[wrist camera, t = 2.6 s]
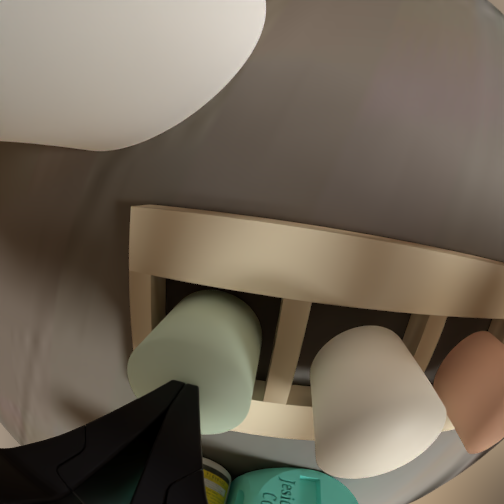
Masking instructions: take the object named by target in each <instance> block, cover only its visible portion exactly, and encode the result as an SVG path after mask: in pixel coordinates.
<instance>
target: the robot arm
mask: <svg viewBox="0 0 504 504" xmlns="http://www.w3.org/2000/svg"><path fill="white" fill-rule="evenodd" d="M0 504H208V500H207V495H206V489H205V482H204V471H203V459H202V444H201V425H200V401H199V387H198V386H197V385H192V384H189V383H187V384H185V383H184V382H181V381H177V380H171V381H169V382H167V383H165V384H164V385H162V386H160V387H158V388H156V389H155V390H153V391H151V392H149V393H147V394H145V395H144V396H142V397H140V398H138V399H136V400H134V401H132V402H130V403H128V404H126V405H124V406H123V407H121V408H119V409H117V410H115V411H113V412H111V413H109V414H107V415H104V416H102V417H100V418H98V419H96V420H94V421H92V422H90V423H88V424H86V426H85V425H83V426H81V427H79V428H77V429H74V430H72V431H69V432H67V433H65V434H62V435H59V436H56V437H53V438H50V439H47V440H43V441H39V442H35V443H31V444H27V445H23V446H19V447H15V448H5V449H3V448H2V449H1V448H0Z"/></svg>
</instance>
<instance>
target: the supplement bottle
mask: <svg viewBox="0 0 504 504" xmlns="http://www.w3.org/2000/svg"><path fill="white" fill-rule="evenodd" d="M202 459H203V471H204V482H205V489H206V495H207V500H208V504H226V501H227V497H228V494H229V490H230V485H231V476H230V474H229V473H228V472H227V470H226V469H224V468H223V467H222V466H221V465H219V464H217V463H216V462H214V461H212V460H209V459H207V458H204V457H202Z"/></svg>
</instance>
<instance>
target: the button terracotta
mask: <svg viewBox="0 0 504 504" xmlns="http://www.w3.org/2000/svg"><path fill="white" fill-rule="evenodd" d="M433 388H434V390H435V391H436V393H437V394H438V396H439V398H440V399H441V401H442V403H443V404H444V406H445V408H446V414H447V416H448V417H449V419H450V421H451V423H452V424H453V426H454V428H455V430H456V432H457V433H458V435H459V437H460V439H461V441H462V443H463V445H464V446H465V448H466V450H467V452H468V453H470V454H475V453H479V452H482V451H484V450H486V449H488V448H490V447H491V446H493V445H494V444H496V443H497V442H498V441H500V440H501V439H502V438H504V344H503V343H502V342H500V341H499V340H498V339H497V338H496V337H495V336H493V335H492V334H491V333H490V332H487V331H479V332H476V333H473V334H471V335H469V336H467V337H466V338H465V339H463V340H462V341H461V342H459V343H458V344H457V345H456V346H455V347H454V348H453V349H452V350H451V351H450V352H449V354H448V355H447V356H446V358H445V359H444V360H443V362H442V363H441V365H440V367H439V369H438V371H437V373H436V375H435V379H434V383H433Z"/></svg>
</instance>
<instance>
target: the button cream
mask: <svg viewBox="0 0 504 504" xmlns="http://www.w3.org/2000/svg"><path fill="white" fill-rule="evenodd" d="M310 384H311V395H312V408H313V421H314V436H315V454H316V462H317V464H318V466H319V467H320V469H321V470H323V471H324V472H326V473H327V474H329V475H332V476H335V477H339V478H348V479H357V478H367V477H372V476H376V475H380V474H383V473H386V472H389V471H392V470H394V469H397V468H399V467H401V466H403V465H405V464H406V463H408V462H410V461H411V460H413V459H415V458H416V457H417V456H419V455H420V454H421V453H423V452H424V451H425V450H426V449H427V448H428V447H429V446H430V445H431V444H432V443H433V442H434V441H435V440H436V438H437V437H438V436H439V434H440V433H441V431H442V429H443V427H444V424H445V421H446V408H445V406H444V404H443V403H442V401H441V399H440V398H439V396H438V394H437V393H436V391H435V390H434V388H433V386H432V385H431V383H430V382H429V380H428V379H427V377H426V376H425V374H424V372H423V371H422V369H421V368H420V366H419V365H418V363H417V362H416V360H415V359H414V357H413V356H412V354H411V353H410V352H409V350H408V349H407V347H406V346H405V344H404V343H403V341H402V340H401V339H400V337H399V336H398V335H397V334H396V333H394V332H393V331H391V330H389V329H387V328H384V327H381V326H370V325H368V326H360V327H355V328H352V329H349V330H347V331H344V332H342V333H340V334H339V335H337V336H335V337H334V338H332V339H331V340H330V341H328V342H327V343H326V344H325V345H324V346H323V347H322V348H321V349H320V350H319V352H318V353H317V355H316V356H315V358H314V360H313V362H312V365H311V369H310Z"/></svg>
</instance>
